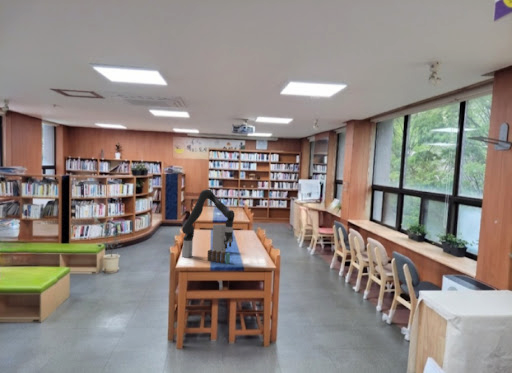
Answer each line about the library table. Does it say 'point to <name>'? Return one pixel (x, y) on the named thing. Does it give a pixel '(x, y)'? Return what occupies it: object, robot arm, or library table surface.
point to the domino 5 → (227, 258)
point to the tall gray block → (218, 238)
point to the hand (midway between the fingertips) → (228, 247)
